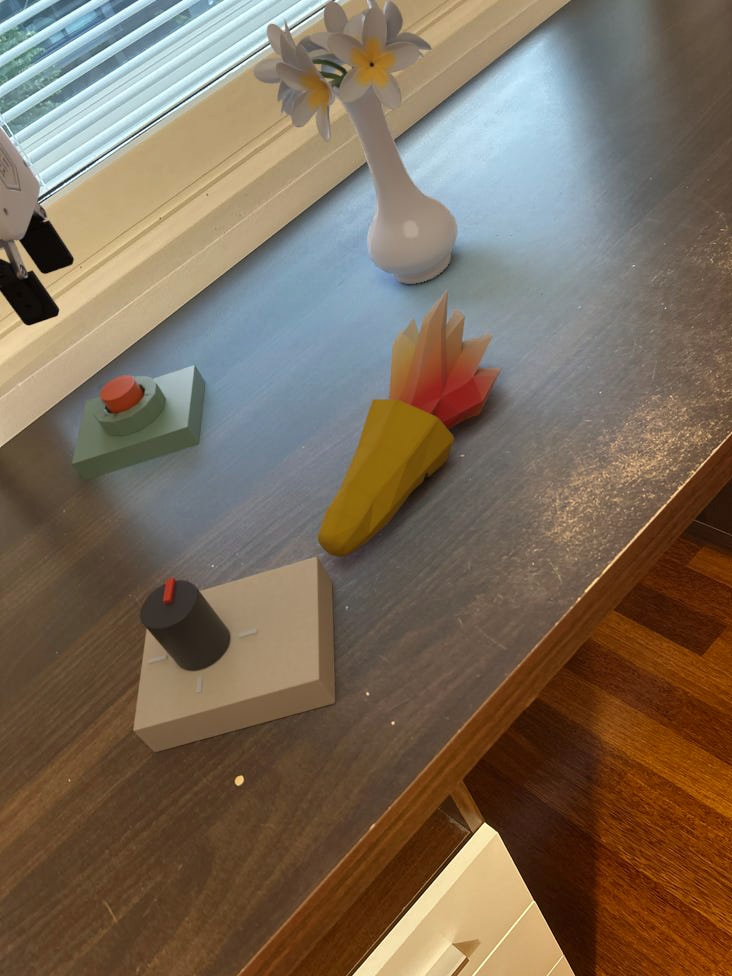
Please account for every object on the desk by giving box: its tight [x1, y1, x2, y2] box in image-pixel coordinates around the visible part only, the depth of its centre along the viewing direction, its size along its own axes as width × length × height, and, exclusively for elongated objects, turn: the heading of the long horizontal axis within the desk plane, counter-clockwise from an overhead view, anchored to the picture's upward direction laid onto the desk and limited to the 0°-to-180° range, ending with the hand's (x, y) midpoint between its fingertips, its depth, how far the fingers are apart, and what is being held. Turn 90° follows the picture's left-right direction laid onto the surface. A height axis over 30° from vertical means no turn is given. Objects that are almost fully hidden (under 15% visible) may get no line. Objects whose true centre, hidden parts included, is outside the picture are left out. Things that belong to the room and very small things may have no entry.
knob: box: [139, 577, 230, 671], centre depth 73 cm, size 4×4×5 cm
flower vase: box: [252, 0, 459, 285], centre depth 95 cm, size 13×18×25 cm
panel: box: [132, 556, 336, 753], centre depth 75 cm, size 14×12×3 cm
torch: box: [317, 288, 503, 558], centre depth 82 cm, size 8×8×25 cm
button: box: [99, 374, 144, 414], centre depth 97 cm, size 4×4×2 cm
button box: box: [71, 364, 206, 481], centre depth 99 cm, size 12×10×4 cm
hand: (50, 291), depth 88 cm, fingers open, 7 cm apart
